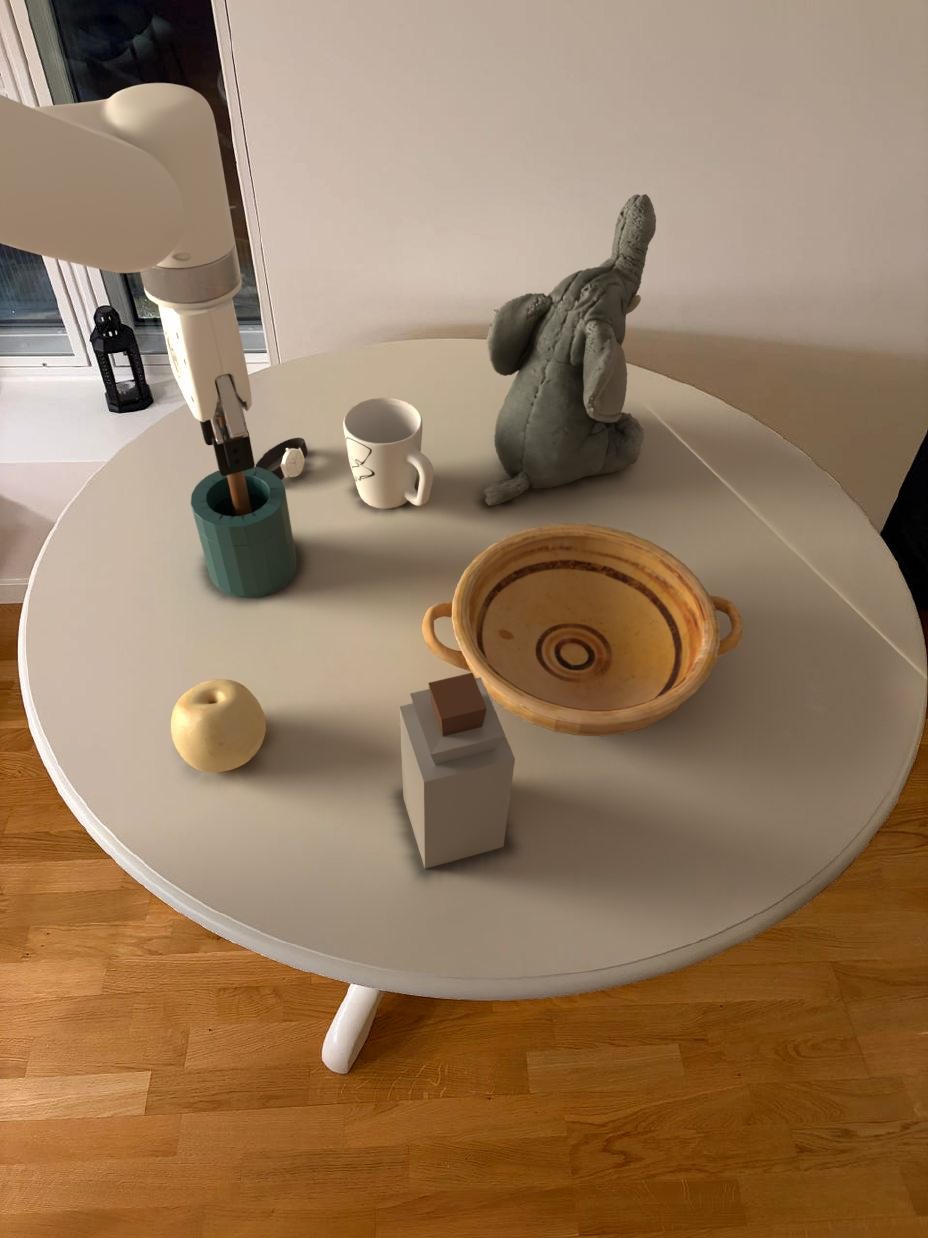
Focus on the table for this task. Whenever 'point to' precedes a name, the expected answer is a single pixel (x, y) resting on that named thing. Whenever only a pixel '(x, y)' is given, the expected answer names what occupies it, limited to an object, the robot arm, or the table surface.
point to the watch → (286, 458)
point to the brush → (237, 487)
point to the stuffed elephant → (570, 369)
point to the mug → (387, 452)
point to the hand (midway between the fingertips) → (229, 453)
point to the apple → (218, 725)
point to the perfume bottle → (455, 770)
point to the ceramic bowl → (584, 628)
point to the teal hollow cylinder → (245, 534)
